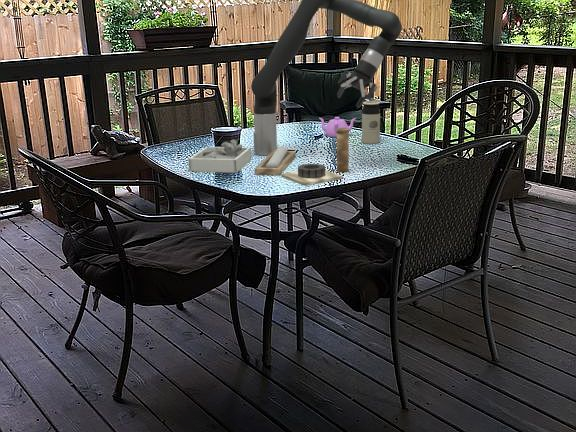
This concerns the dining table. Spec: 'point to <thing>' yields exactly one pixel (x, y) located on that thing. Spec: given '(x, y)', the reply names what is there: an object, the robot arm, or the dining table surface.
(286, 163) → the tube rest
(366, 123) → the travel mug
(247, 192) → the dining table surface
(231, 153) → the coral
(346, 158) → the dowel
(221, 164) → the coral tray
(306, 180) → the collar board
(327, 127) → the teapot
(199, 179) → the dining table surface
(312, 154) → the dining table surface
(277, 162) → the tube
